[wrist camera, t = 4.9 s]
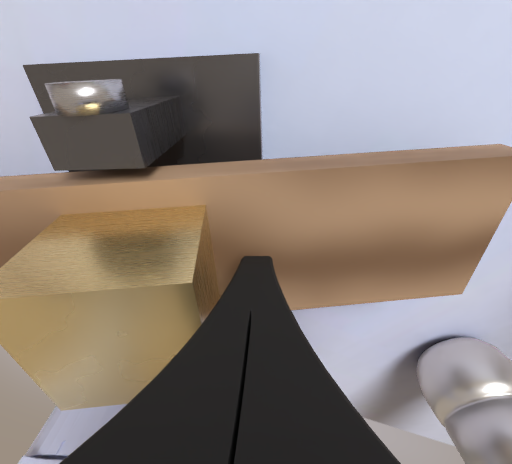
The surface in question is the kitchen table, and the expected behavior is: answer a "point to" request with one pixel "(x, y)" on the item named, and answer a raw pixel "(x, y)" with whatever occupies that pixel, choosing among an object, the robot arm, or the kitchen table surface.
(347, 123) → the kitchen table surface
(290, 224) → the balance beam
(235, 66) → the pivot stand
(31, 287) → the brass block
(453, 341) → the plastic bottle
